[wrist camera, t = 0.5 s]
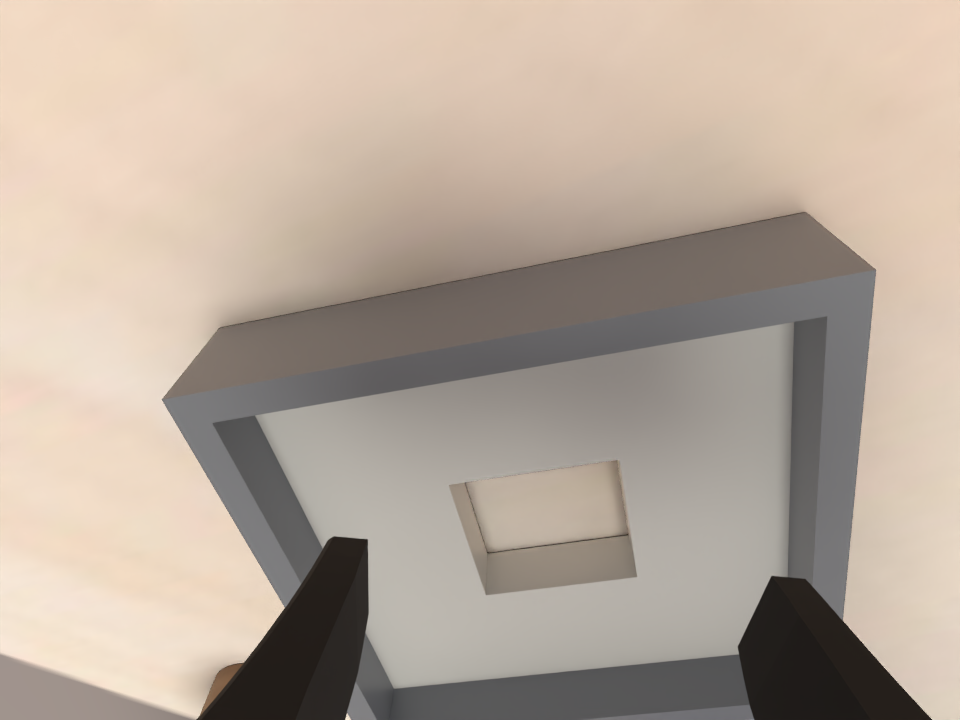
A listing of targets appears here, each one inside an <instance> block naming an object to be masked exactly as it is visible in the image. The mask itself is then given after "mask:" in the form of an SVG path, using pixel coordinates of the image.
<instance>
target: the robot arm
mask: <svg viewBox="0 0 960 720" xmlns="http://www.w3.org/2000/svg"><path fill="white" fill-rule="evenodd" d="M368 615H369V591H368V539H359V538H348V537H337V536H333V537H332V538H330V539H329V540H327V542H326V544H325V546H324V548H323V550H322V551H321V553H320V555H319V556H318V558H317V560H316V561H315V563H314V565H313V566H312V568H311V570H310V571H309V573H308V574H307V576H306V578H305V579H304V581H303V582H302V584H301V585H300V587H299V588H298V590H297V591H296V593H295V594H294V596H293V597H292V599H291V600H290V602H289V603H288V605H287V606H286V607H285V609H284V610H283V611H282V613H281V614H280V616H279V617H278V618H277V620H276V621H275V623H274V624H273V625H272V627H271V628H270V629H269V631H268V632H267V634H266V635H265V636H264V638H263V639H262V640H261V642H260V643H259V644H258V646H257V647H256V648H255V650H254V651H253V652H252V653H251V655H250V656H249V657H248V658H247V660H246V661H245V662H244V663H243V665H242V666H241V667H240V668H239V670H238V671H237V672H236V673H235V675H234V676H233V677H232V678H231V680H230V681H229V682H228V683H227V685H226V686H225V687H224V688H223V690H222V691H221V692H220V693H219V694H218V696H217V697H216V698H215V699H214V700H213V701H212V703H211V704H210V705H209V706H208V707H207V708H206V709H205V711H204V712H203V713H202V714H201V715H200V716H199V717H198V719H197V720H345V718H346V714H347V710H348V707H349V703H350V700H351V696H352V693H353V689H354V686H355V682H356V678H357V675H358V671H359V665H360V660H361V654H362V649H363V644H364V638H365V632H366V627H367V621H368ZM738 652H739V657H740V662H741V667H742V672H743V677H744V682H745V686H746V691H747V695H748V700H749V704H750V708H751V711H752V714H753V717H754V719H753V720H932V719H931V718H930V717H929V716H928V715H927V714H926V713H925V712H924V711H923V710H922V709H921V707H920V706H919V705H918V704H917V703H916V702H915V701H914V700H913V699H912V698H911V697H910V696H909V695H908V693H907V692H906V691H905V690H904V689H903V688H902V687H901V686H900V685H899V684H898V683H897V681H896V680H895V679H894V678H893V677H892V676H891V675H890V674H889V673H888V671H887V670H886V669H885V668H884V667H883V666H882V665H881V664H880V663H879V661H878V660H877V659H876V658H875V657H874V656H873V655H872V654H871V652H870V651H869V650H868V649H867V648H866V647H865V646H864V644H863V643H862V642H861V641H860V640H859V639H858V638H857V636H856V635H855V634H854V633H853V632H852V631H851V630H850V629H849V627H848V626H847V625H846V624H845V623H844V622H843V620H842V619H841V618H840V617H839V616H838V615H837V614H836V612H835V611H834V610H833V609H832V608H831V607H830V606H829V604H828V603H827V602H826V601H825V600H824V599H823V598H822V596H821V595H820V594H819V593H818V592H817V591H816V590H815V589H814V588H813V586H812V585H811V584H810V583H809V582H808V581H807V580H806V579H802V578H791V577H780V576H771V578H770V580H769V582H768V584H767V586H766V588H765V590H764V593H763V595H762V597H761V599H760V601H759V603H758V605H757V607H756V609H755V611H754V613H753V616H752V618H751V620H750V622H749V624H748V626H747V628H746V630H745V632H744V634H743V637H742V639H741V641H740V643H739V645H738Z"/></svg>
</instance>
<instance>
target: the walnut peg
mask: <svg viewBox="0 0 960 720" xmlns="http://www.w3.org/2000/svg"><path fill="white" fill-rule="evenodd" d="M242 665H243V664H235V665H231V666H228V667H225V668H224V669H222V670H221V671H219V673H218V674H217V675H216V677H215V680H214V682H213V685H212V687H211V690H210V692H209V694H208V697H207V699H206V702H205V704H204V707H203V709H202V711H201V714H202V713H203V712H204V711H205V709H206V708H207V707H208V706H209V705H210V704H211V703H212V701H213V700H214V699H215V698H216V697H217V696H218V694H219V693H220V692H221V691H222V690H223V688H224V687H225V686H226V685H227V683H228V682H229V681H230V680H231V678H232V677H233V676H234V675H235V673H236V672H237V671H238V670H239V668H240V667H241V666H242ZM201 714H200V715H201Z"/></svg>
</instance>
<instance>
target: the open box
mask: <svg viewBox="0 0 960 720" xmlns="http://www.w3.org/2000/svg"><path fill="white" fill-rule="evenodd" d="M875 276H876V269H874V268H873V267H872V266H871V265H870V264H868V263H867V262H866V261H865V260H864V259H862V258H861V257H860V256H859V255H857V254H856V253H855V252H854V251H853V250H851V249H850V248H849V247H848V246H847V245H845V244H844V243H843V242H842V241H840V240H839V239H838V238H837V237H836V236H834V235H833V234H832V233H831V232H829V231H828V230H827V229H826V228H825V227H823V226H822V225H821V224H820V223H819V222H817V221H816V220H815V219H814V218H812V217H811V216H810V215H809V214H808V213H806V212H805V213H800V214H795V215H790V216H785V217H779V218H774V219H769V220H764V221H759V222H754V223H749V224H744V225H739V226H734V227H729V228H724V229H719V230H714V231H709V232H703V233H698V234H693V235H688V236H683V237H678V238H673V239H668V240H663V241H658V242H653V243H648V244H643V245H638V246H633V247H628V248H622V249H617V250H612V251H607V252H602V253H597V254H592V255H587V256H582V257H577V258H572V259H567V260H562V261H557V262H552V263H546V264H541V265H536V266H531V267H526V268H521V269H516V270H511V271H506V272H501V273H496V274H491V275H486V276H481V277H476V278H470V279H465V280H460V281H455V282H450V283H445V284H440V285H435V286H430V287H425V288H420V289H415V290H410V291H405V292H400V293H395V294H389V295H384V296H379V297H374V298H369V299H364V300H359V301H354V302H349V303H344V304H339V305H334V306H329V307H324V308H319V309H313V310H308V311H303V312H298V313H293V314H288V315H283V316H278V317H273V318H268V319H263V320H258V321H253V322H248V323H243V324H237V325H232V326H227V327H222V328H219V329H218V330H217V332H216V333H215V334H214V335H213V337H212V338H211V339H210V340H209V342H208V343H207V344H206V345H205V347H204V348H203V349H202V350H201V351H200V353H199V354H198V355H197V356H196V358H195V359H194V360H193V361H192V363H191V364H190V365H189V366H188V368H187V369H186V370H185V371H184V373H183V374H182V375H181V376H180V378H179V379H178V380H177V381H176V383H175V384H174V385H173V386H172V388H171V389H170V390H169V391H168V393H167V394H166V395H165V396H164V398H163V399H162V401H163V402H164V404H165V406H166V407H167V409H168V411H169V412H170V414H171V416H172V418H173V419H174V421H175V423H176V424H177V426H178V428H179V429H180V431H181V433H182V434H183V436H184V438H185V440H186V441H187V443H188V445H189V446H190V448H191V450H192V451H193V453H194V455H195V456H196V458H197V460H198V461H199V463H200V465H201V467H202V468H203V470H204V472H205V473H206V475H207V477H208V478H209V480H210V482H211V483H212V485H213V487H214V489H215V490H216V492H217V494H218V495H219V497H220V499H221V500H222V502H223V504H224V505H225V507H226V509H227V510H228V512H229V514H230V516H231V517H232V519H233V521H234V522H235V524H236V526H237V527H238V529H239V531H240V532H241V534H242V536H243V538H244V539H245V541H246V543H247V544H248V546H249V548H250V549H251V551H252V553H253V554H254V556H255V558H256V559H257V561H258V563H259V565H260V566H261V568H262V570H263V571H264V573H265V575H266V576H267V578H268V580H269V581H270V583H271V585H272V587H273V588H274V590H275V592H276V593H277V595H278V597H279V598H280V600H281V602H282V603H283V605H284V607H286V606H287V605H288V603H289V602H290V600H291V599H292V597H293V596H294V594H295V593H296V591H297V590H298V588H299V587H300V585H301V584H302V582H303V581H304V579H305V578H306V576H307V574H308V573H309V571H310V570H311V568H312V566H313V565H314V563H315V561H316V560H317V558H318V556H319V555H320V553H321V551H322V550H323V548H324V546H325V544H326V542H327V540H329V539H330V538H332V537H333V536H337V537H348V538H359V539H368V591H369V615H368V621H367V627H366V632H365V638H364V644H363V649H362V654H361V660H360V665H359V671H358V675H357V678H356V682H355V686H354V689H353V693H352V696H351V700H350V703H349V707H348V710H347V713H348V715H349V717H350V718H351V720H753V719H754V717H753V714H752V711H751V708H750V704H749V700H748V695H747V691H746V686H745V682H744V677H743V672H742V667H741V662H740V657H739V652H738V645H739V643H740V641H741V639H742V637H743V634H744V632H745V630H746V628H747V626H748V624H749V622H750V620H751V618H752V616H753V613H754V611H755V609H756V607H757V605H758V603H759V601H760V599H761V597H762V595H763V593H764V590H765V588H766V586H767V584H768V582H769V580H770V578H771V576H780V577H791V578H802V579H806V580H807V581H808V582H809V583H810V584H811V585H812V586H813V588H814V589H815V590H816V591H817V592H818V593H819V594H820V595H821V596H822V598H823V599H824V600H825V601H826V602H827V603H828V604H829V606H830V607H831V608H832V609H833V610H834V611H835V612H836V614H837V615H838V616H839V617H840V618H841V619H842V620H843V612H844V601H845V591H846V580H847V570H848V559H849V549H850V538H851V528H852V517H853V507H854V496H855V486H856V475H857V465H858V454H859V444H860V433H861V423H862V412H863V402H864V391H865V381H866V370H867V360H868V349H869V339H870V328H871V318H872V307H873V297H874V286H875ZM614 460H617V465H618V471H619V478H620V484H621V490H622V497H623V503H624V510H625V516H626V523H627V529H628V535H626V536H619V537H611V538H603V539H596V540H588V541H580V542H573V543H565V544H557V545H550V546H542V547H534V548H527V549H519V550H511V551H504V552H496V553H488V554H487V551H486V548H485V544H484V541H483V538H482V535H481V532H480V529H479V526H478V523H477V520H476V517H475V513H474V510H473V507H472V504H471V501H470V498H469V495H468V492H467V489H466V485H465V483H466V482H472V481H479V480H486V479H493V478H499V477H506V476H513V475H520V474H526V473H533V472H540V471H547V470H553V469H560V468H567V467H574V466H580V465H587V464H594V463H601V462H607V461H614Z"/></svg>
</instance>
